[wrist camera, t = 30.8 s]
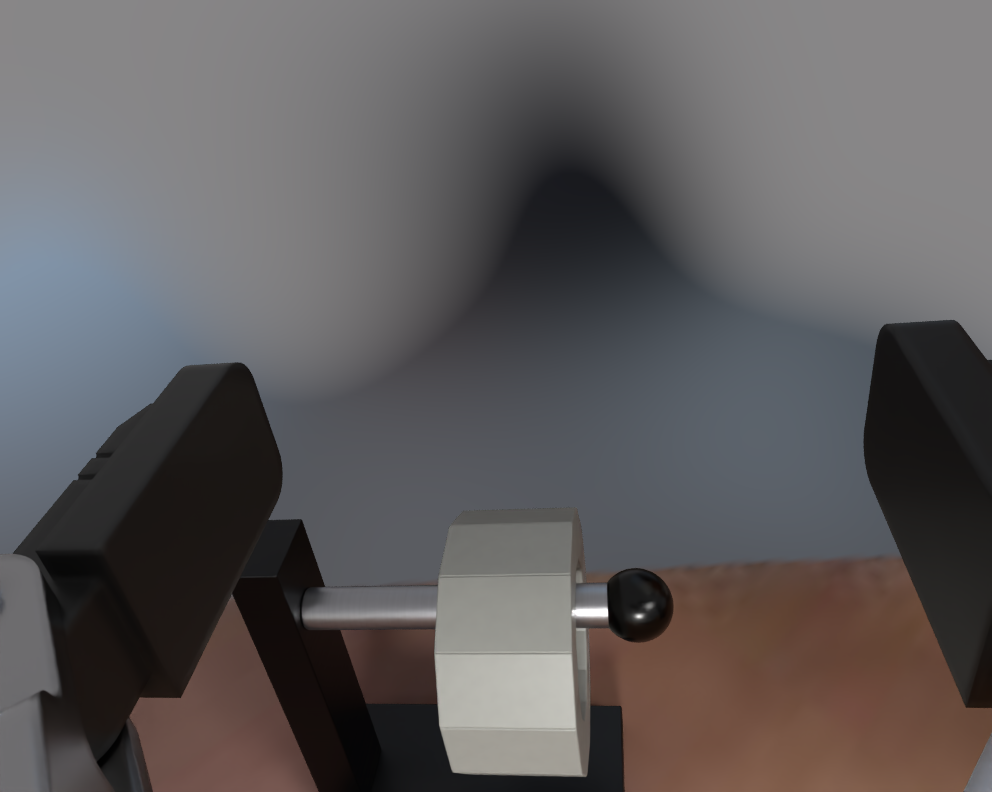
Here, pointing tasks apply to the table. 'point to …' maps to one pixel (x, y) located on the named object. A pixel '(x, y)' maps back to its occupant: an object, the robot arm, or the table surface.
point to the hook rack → (403, 727)
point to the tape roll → (513, 644)
